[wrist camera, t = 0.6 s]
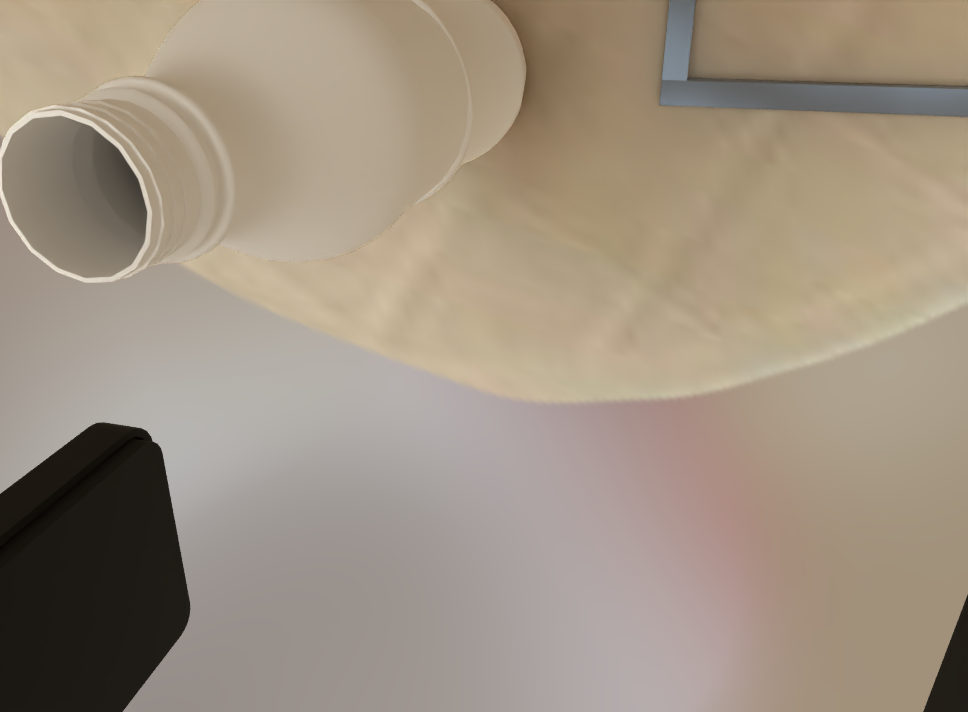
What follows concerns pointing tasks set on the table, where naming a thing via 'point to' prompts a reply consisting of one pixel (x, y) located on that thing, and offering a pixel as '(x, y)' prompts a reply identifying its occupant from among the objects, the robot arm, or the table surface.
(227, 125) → the water bottle
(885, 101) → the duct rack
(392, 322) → the table surface
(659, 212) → the table surface
